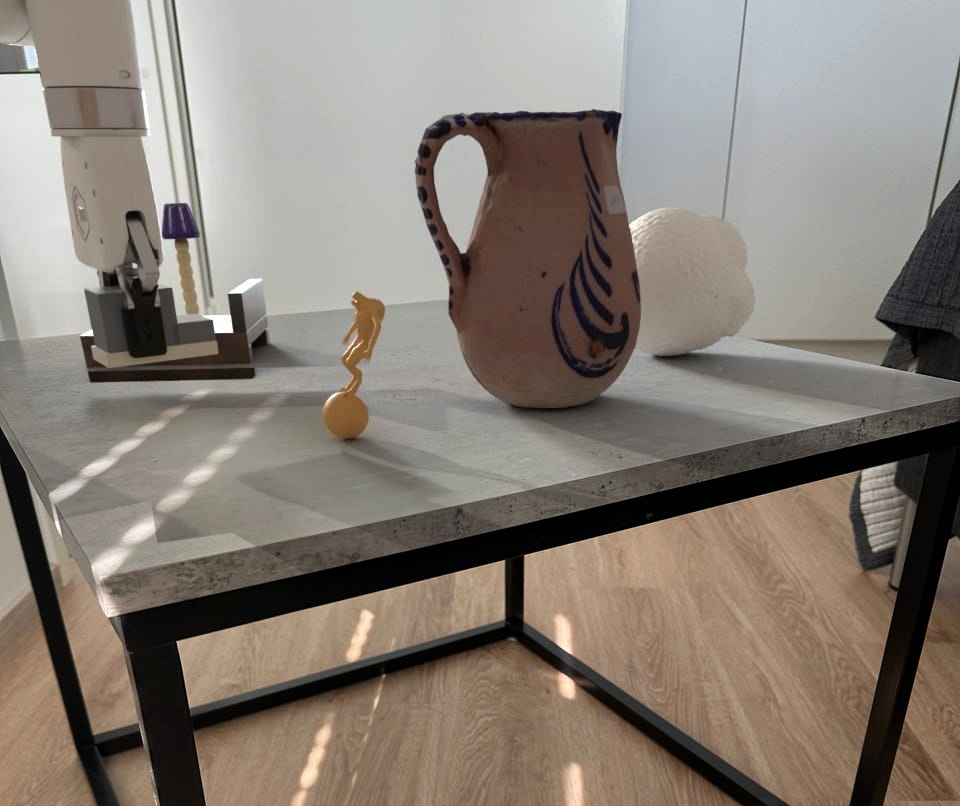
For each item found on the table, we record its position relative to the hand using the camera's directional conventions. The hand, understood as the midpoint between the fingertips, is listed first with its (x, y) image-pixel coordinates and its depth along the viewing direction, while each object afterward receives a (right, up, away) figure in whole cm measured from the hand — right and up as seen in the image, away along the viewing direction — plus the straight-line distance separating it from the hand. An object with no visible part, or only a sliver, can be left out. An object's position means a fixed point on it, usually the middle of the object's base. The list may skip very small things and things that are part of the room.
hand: (138, 348), depth 82 cm
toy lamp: (-7, +14, +41) cm, 44 cm away
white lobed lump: (+53, +8, +28) cm, 61 cm away
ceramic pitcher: (+36, -3, +9) cm, 37 cm away
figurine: (+20, -8, -1) cm, 22 cm away
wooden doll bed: (-4, +6, +25) cm, 26 cm away
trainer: (+1, 0, +1) cm, 2 cm away
